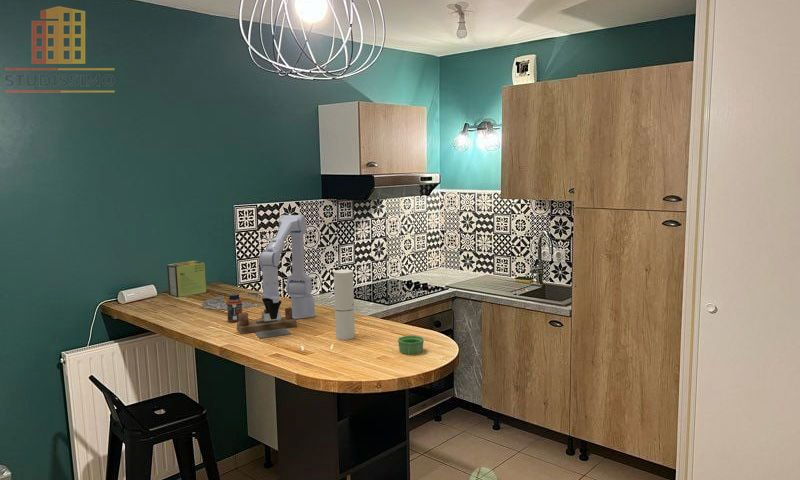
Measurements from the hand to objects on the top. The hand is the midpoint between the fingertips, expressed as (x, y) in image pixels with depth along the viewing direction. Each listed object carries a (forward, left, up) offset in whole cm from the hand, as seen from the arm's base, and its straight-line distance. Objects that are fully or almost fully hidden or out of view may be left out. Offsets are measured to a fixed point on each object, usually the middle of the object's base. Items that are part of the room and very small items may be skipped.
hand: (272, 317), depth 234 cm
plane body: (0, -10, -6) cm, 11 cm away
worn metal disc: (+1, -63, -7) cm, 63 cm away
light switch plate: (0, 0, 0) cm, 1 cm away
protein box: (+20, -95, -7) cm, 97 cm away
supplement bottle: (+9, -28, -7) cm, 30 cm away
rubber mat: (0, 0, -6) cm, 6 cm away
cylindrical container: (-23, +17, -7) cm, 30 cm away
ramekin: (-37, +44, -7) cm, 58 cm away
